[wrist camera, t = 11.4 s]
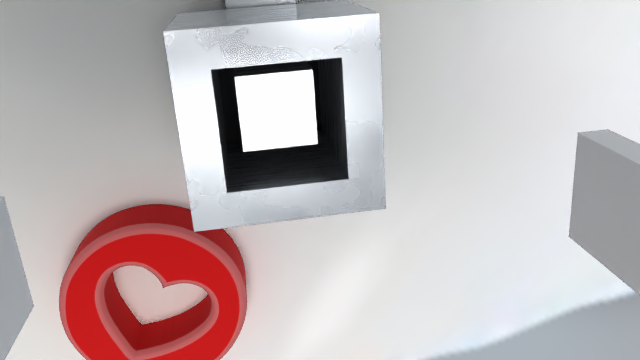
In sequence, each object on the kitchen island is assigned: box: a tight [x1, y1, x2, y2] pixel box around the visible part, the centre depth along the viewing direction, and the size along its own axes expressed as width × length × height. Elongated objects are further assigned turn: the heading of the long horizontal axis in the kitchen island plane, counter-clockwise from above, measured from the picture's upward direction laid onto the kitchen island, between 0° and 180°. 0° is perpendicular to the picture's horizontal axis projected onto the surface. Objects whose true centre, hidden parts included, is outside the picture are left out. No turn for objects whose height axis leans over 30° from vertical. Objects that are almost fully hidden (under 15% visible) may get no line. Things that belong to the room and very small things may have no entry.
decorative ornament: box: [59, 204, 247, 360], centre depth 33 cm, size 10×10×3 cm
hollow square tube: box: [163, 0, 386, 232], centre depth 25 cm, size 7×7×7 cm
